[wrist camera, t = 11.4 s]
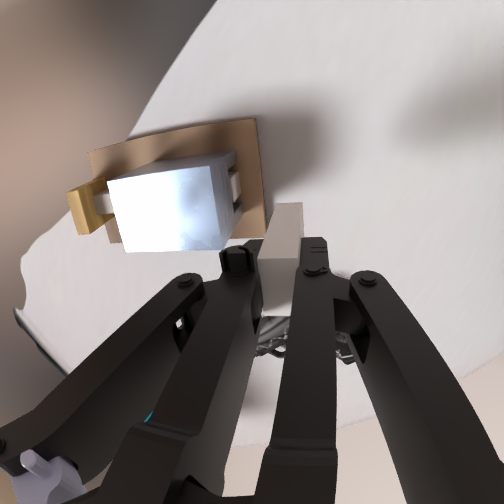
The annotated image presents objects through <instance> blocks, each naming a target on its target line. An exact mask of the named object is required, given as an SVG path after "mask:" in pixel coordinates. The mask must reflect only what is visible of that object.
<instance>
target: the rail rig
mask: <svg viewBox="0 0 504 504" xmlns="http://www.w3.org/2000/svg"><path fill="white" fill-rule="evenodd" d="M230 150H236V155H237V163H236V164H234V165H233V166H232V167H231V168H229V169H228V174H229V182H230V189H231V196H232V202H242V203H243V211H244V214H243V215H242V217H241V219H240V220H239V222H238V224H237V226H236V228H235V229H234V231H233V233H232V235H231V236H230V238H229V239H238V238H264V237H265V235H266V232H267V225H266V214H265V204H264V194H263V184H262V175H261V165H260V156H259V146H258V137H257V128H256V119H245V120H237V121H229V122H221V123H214V124H208V125H201V126H195V127H190V128H184V129H179V130H174V131H169V132H164V133H159V134H154V135H150V136H146V137H141V138H137V139H133V140H129V141H125V142H122V143H118V144H114V145H111V146H107V147H104V148H101V149H97V150H94V151H90V152H88V158H89V163H90V168H91V172H92V177H93V180H92V181H90V182H88V183H85V184H83V185H81V186H79V187H77V188H75V189H73V190H71V191H69V192H67V193H66V194H67V198H68V202H69V205H70V209H71V213H72V216H73V220H74V223H75V226H76V229H77V232H78V235H84V234H91V233H92V232H93V231H95V230H96V229H98V228H99V227H100V226H102V225H103V224H105V227H106V230H107V234H108V237H109V240H110V243H123V239H122V236H121V232H120V229H119V225H118V222H117V218H116V214H115V211H114V207H113V203H112V199H111V195H110V191H109V187H108V181H110V180H112V179H114V178H116V177H119V176H121V175H123V174H125V173H127V172H130V171H132V170H134V169H136V168H139V167H141V166H143V165H146V164H148V163H150V162H153V161H159V160H164V159H170V158H177V157H183V156H190V155H197V154H205V153H212V152H221V151H230Z"/></svg>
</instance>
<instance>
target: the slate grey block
mask: <svg viewBox="0 0 504 504" xmlns="http://www.w3.org/2000/svg"><path fill="white" fill-rule="evenodd" d="M236 163H237V155H236V150H230V151H221V152H212V153H205V154H197V155H190V156H183V157H177V158H170V159H164V160H159V161H153V162H150V163H148V164H146V165H143V166H141V167H139V168H136V169H134V170H132V171H130V172H127V173H125V174H123V175H121V176H119V177H116V178H114V179H112V180H110V181H108V187H109V191H110V195H111V199H112V203H113V207H114V211H115V214H116V218H117V222H118V225H119V229H120V232H121V236H122V239H123V243H124V246H125V249H126V252H141V251H191V250H223V249H224V247H225V245H226V243H227V242H228V240H229V238H230V236H231V235H232V233H233V231H234V229H235V228H236V226H237V224H238V222H239V220H240V219H241V217H242V215H243V214H244V211H243V203H242V202H232V196H231V189H230V182H229V174H228V169H229V168H231V167H232V166H233V165H234V164H236Z"/></svg>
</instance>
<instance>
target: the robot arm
mask: <svg viewBox="0 0 504 504" xmlns="http://www.w3.org/2000/svg"><path fill="white" fill-rule="evenodd" d="M219 257H220V262H221V267H222V274H221V276H220V278H219V279H217V280H213V281H207V282H203V280H202V277H201V276H200V275H199V274H196V273H187V274H186V273H185V274H182V275H180V276H177V277H176V278H174V279H173V280H172V281H171V282H169V283H168V284H167V285H166V286H165V287H164V288H163V289H162V290H160V291H159V292H158V293H157V294H156V295H155V296H154V297H152V298H151V299H150V300H149V301H148V302H147V303H146V304H145V305H144V306H142V307H141V308H140V309H139V310H138V311H137V312H136V313H135V314H134V315H132V316H131V317H130V318H129V319H128V320H127V321H126V322H125V323H124V324H123V325H121V326H120V327H119V328H118V329H117V330H116V331H115V332H114V333H113V334H112V335H111V336H109V337H108V338H107V339H106V340H105V341H104V342H103V343H102V344H101V345H100V346H99V347H98V348H97V349H95V350H94V351H93V352H92V353H91V354H90V355H89V356H88V357H87V358H86V359H85V360H84V361H83V362H82V363H81V364H80V365H79V366H77V367H76V368H75V369H74V370H73V371H72V372H71V373H70V374H69V375H68V376H67V377H66V378H65V379H64V380H63V381H62V382H61V383H60V384H59V385H58V386H57V387H56V388H55V389H54V390H53V391H52V392H51V393H50V394H49V395H48V396H47V397H46V398H45V399H44V400H43V401H42V402H41V403H40V404H39V405H38V406H37V407H36V408H35V409H34V410H33V411H30V412H29V413H27V414H25V415H23V416H22V417H20V418H18V419H16V420H14V421H13V422H10V423H9V424H7V425H5V426H3V427H1V428H0V469H1V470H2V471H4V472H5V473H7V474H8V475H9V477H10V481H11V484H12V487H13V490H14V493H15V496H16V499H17V502H18V504H335V494H336V481H337V466H338V453H337V449H336V412H337V376H336V340H335V331H339V332H343V333H345V338H346V340H347V343H348V345H349V348H350V350H351V352H352V355H353V357H354V359H355V362H356V364H357V367H358V369H359V372H360V374H361V377H362V379H363V382H364V384H365V387H366V389H367V392H368V394H369V397H370V399H371V402H372V404H373V407H374V410H375V412H376V415H377V418H378V420H379V423H380V426H381V428H382V431H383V433H384V437H385V439H386V442H387V445H388V448H389V451H390V454H391V456H392V459H393V462H394V465H395V468H396V471H397V474H398V477H399V480H400V484H401V487H402V490H403V493H404V496H405V499H406V502H407V504H504V463H503V462H502V461H500V460H499V458H498V455H497V453H496V451H495V449H494V447H493V445H492V443H491V441H490V439H489V437H488V435H487V433H486V431H485V429H484V427H483V425H482V423H481V421H480V419H479V418H478V416H477V414H476V412H475V410H474V409H473V407H472V405H471V403H470V402H469V400H468V398H467V397H466V395H465V393H464V391H463V390H462V388H461V386H460V385H459V383H458V381H457V380H456V378H455V377H454V375H453V373H452V372H451V370H450V369H449V367H448V365H447V364H446V362H445V361H444V359H443V358H442V356H441V355H440V353H439V352H438V350H437V349H436V347H435V346H434V344H433V343H432V341H431V340H430V338H429V337H428V336H427V334H426V333H425V331H424V330H423V328H422V327H421V326H420V324H419V323H418V321H417V320H416V319H415V317H414V316H413V314H412V313H411V312H410V310H409V309H408V308H407V306H406V305H405V304H404V302H403V301H402V300H401V298H400V297H399V296H398V294H397V293H396V292H395V290H394V289H393V288H392V287H391V285H390V284H389V283H388V281H387V280H386V279H385V278H384V277H383V276H382V275H381V274H379V273H377V272H374V271H368V270H366V271H359V272H356V273H354V274H353V275H352V276H351V278H350V280H348V279H343V278H339V277H337V276H335V275H334V274H332V273H331V270H330V268H329V260H328V250H327V241H325V240H324V239H323V238H322V237H304V221H303V204H302V202H299V203H276V206H275V209H274V212H273V215H272V217H271V220H270V223H269V226H268V229H267V232H266V235H265V237H264V239H254V240H249V241H248V242H246V243H245V244H244V245H237V246H231V247H228V248H225V249H224V250H222V251H221V252H220V253H219ZM262 308H263V311H264V316H290V322H289V329H288V336H287V344H286V350H285V357H284V364H283V370H282V377H281V383H280V389H279V395H278V401H277V407H276V413H275V418H274V424H273V429H272V435H271V439H270V443H269V446H268V447H267V448H266V450H265V452H264V455H263V459H262V464H261V468H260V472H259V477H258V481H257V486H256V491H255V494H254V495H252V496H237V497H222V493H223V489H224V470H225V465H226V462H227V458H228V454H229V451H230V447H231V444H232V440H233V436H234V433H235V429H236V425H237V422H238V418H239V414H240V410H241V406H242V403H243V399H244V395H245V391H246V387H247V383H248V379H249V375H250V371H251V367H252V363H253V359H254V355H255V351H256V347H257V343H258V339H259V335H260V331H261V327H262V317H261V312H262ZM179 319H181V322H182V325H181V326H180V327H178V328H177V326H176V322H177V321H178V320H179ZM152 411H153V412H152ZM151 413H152V414H151ZM150 414H151V416H150V418H149V419H148V420H147V421H146V422H144V421H145V420H146V419H147V418H148V416H149V415H150ZM112 460H113V461H112ZM111 461H112V463H111V465H110V467H109V469H108V471H107V473H106V475H105V478H104V480H103V482H102V484H101V486H99V487H97V488H95V489H93V490H91V491H89V492H87V490H86V488H85V487H84V486H83V485H84V484H85V483H87V482H89V481H90V480H92V479H93V478H94V477H96V476H97V475H98V474H99V473H100V472H102V471H103V470H104V469H105V468H106V467H107V465H108V464H109V463H110V462H111Z"/></svg>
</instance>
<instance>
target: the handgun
mask: <svg viewBox="0 0 504 504" xmlns="http://www.w3.org/2000/svg"><path fill="white" fill-rule="evenodd" d="M289 322H290V316H266V317H264V318H263V319H262V327H261V331H260V335H259V339H258V343H257V347H256V351H255V355H254V358H255V356H256V357H257V356H259V355H260V356H263V355H265V354H266V353H269V354H271V355H273V356H275V357H277V358H284V357H285V351H284V352H279V351H277V350H275V349H276V348H277V347H279V346H281V345H283V344H287V336H288V329H289ZM335 340H336V357H337V358H339V359H340V360H342V361H343V362H344V363H345V364H347V365H349V364H351V363H354V362H355V359H354V357H353V355H352V352H351V350H350V348H349V345H348V343H347V340H346V338H345V333H343V332H339V331H335Z"/></svg>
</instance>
